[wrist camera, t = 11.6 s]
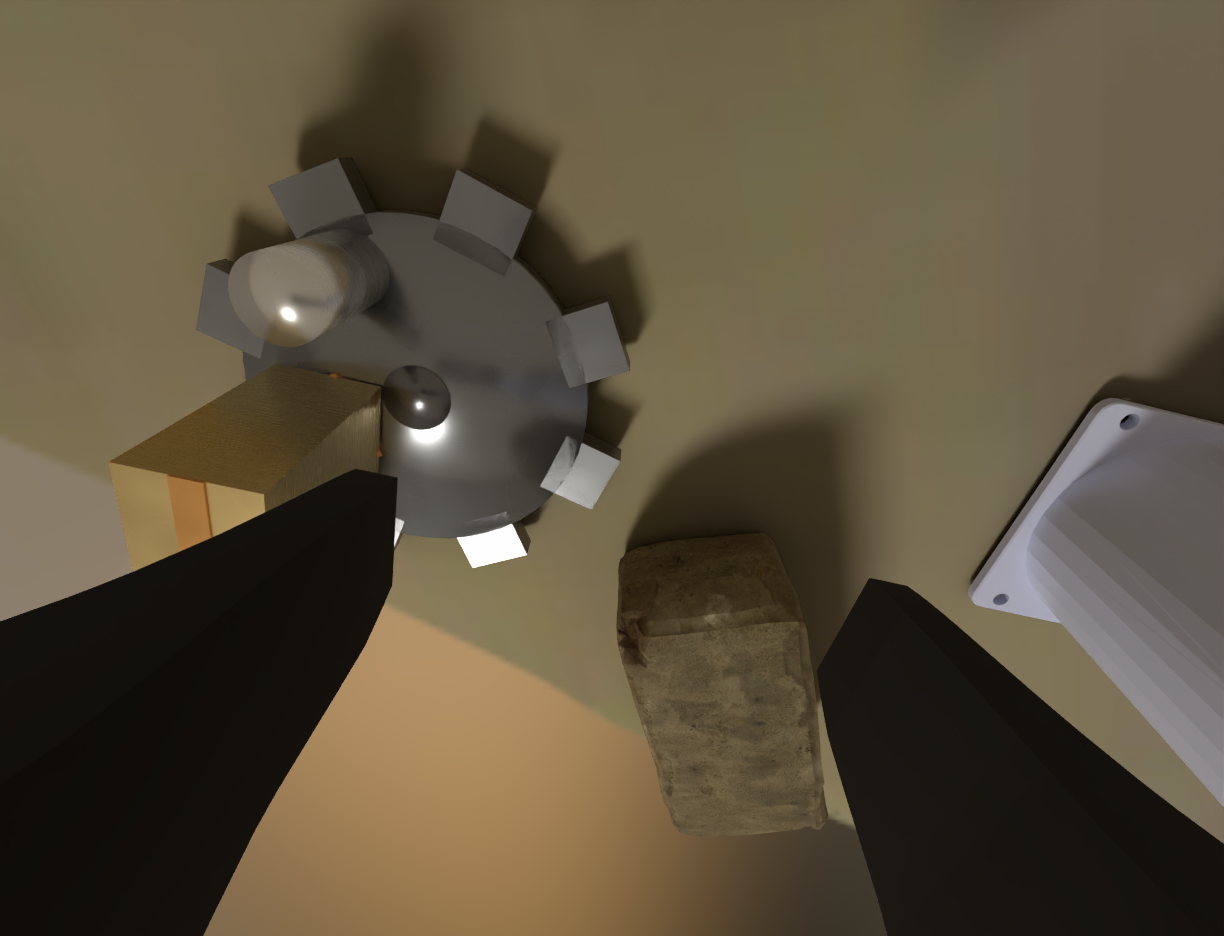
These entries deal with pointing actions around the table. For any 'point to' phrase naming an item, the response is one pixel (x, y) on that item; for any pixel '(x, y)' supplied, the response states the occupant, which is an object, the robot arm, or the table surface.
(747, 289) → the table surface
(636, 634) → the stone block
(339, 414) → the tan rectangular block
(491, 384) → the sprocket
